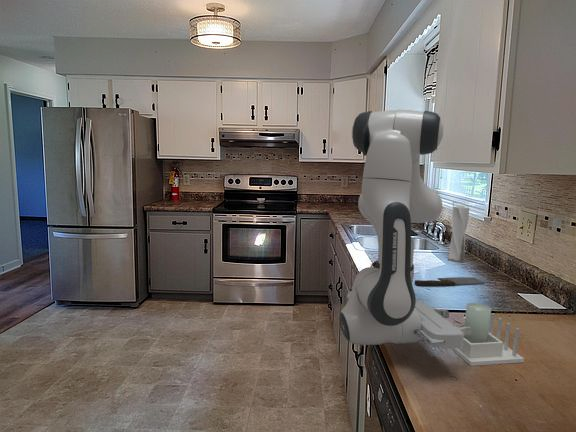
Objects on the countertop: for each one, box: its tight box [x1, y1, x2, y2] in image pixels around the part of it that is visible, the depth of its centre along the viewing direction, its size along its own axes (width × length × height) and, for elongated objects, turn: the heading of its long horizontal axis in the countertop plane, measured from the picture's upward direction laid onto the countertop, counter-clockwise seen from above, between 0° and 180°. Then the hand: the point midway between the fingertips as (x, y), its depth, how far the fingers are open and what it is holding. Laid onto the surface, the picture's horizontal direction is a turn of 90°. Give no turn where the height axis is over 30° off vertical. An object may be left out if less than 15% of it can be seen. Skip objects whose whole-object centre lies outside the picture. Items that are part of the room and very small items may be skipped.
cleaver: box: [414, 276, 486, 288], centre depth 153 cm, size 29×10×2 cm, turn 104°
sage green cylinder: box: [464, 302, 492, 343], centre depth 97 cm, size 6×6×11 cm
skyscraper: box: [447, 201, 470, 264], centre depth 185 cm, size 8×8×28 cm
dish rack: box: [451, 312, 525, 367], centre depth 98 cm, size 14×12×8 cm
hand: (458, 321), depth 96 cm, fingers open, 8 cm apart
